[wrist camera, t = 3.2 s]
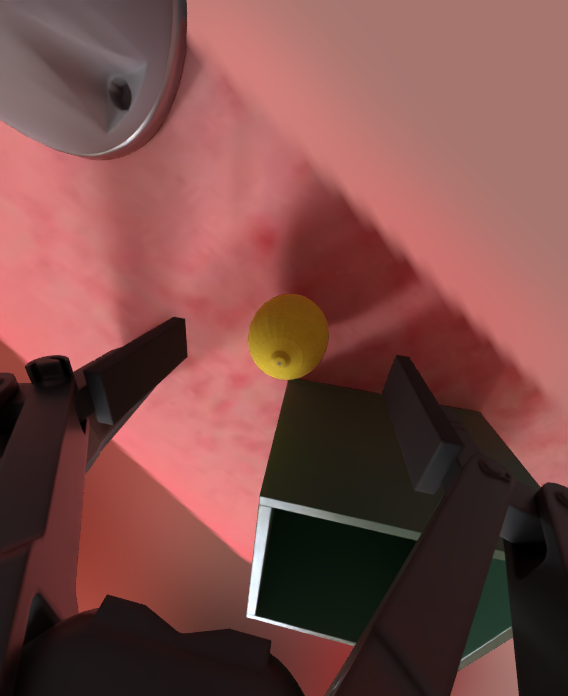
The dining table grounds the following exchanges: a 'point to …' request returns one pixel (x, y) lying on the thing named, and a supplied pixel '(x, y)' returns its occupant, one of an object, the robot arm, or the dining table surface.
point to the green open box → (353, 518)
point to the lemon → (288, 336)
